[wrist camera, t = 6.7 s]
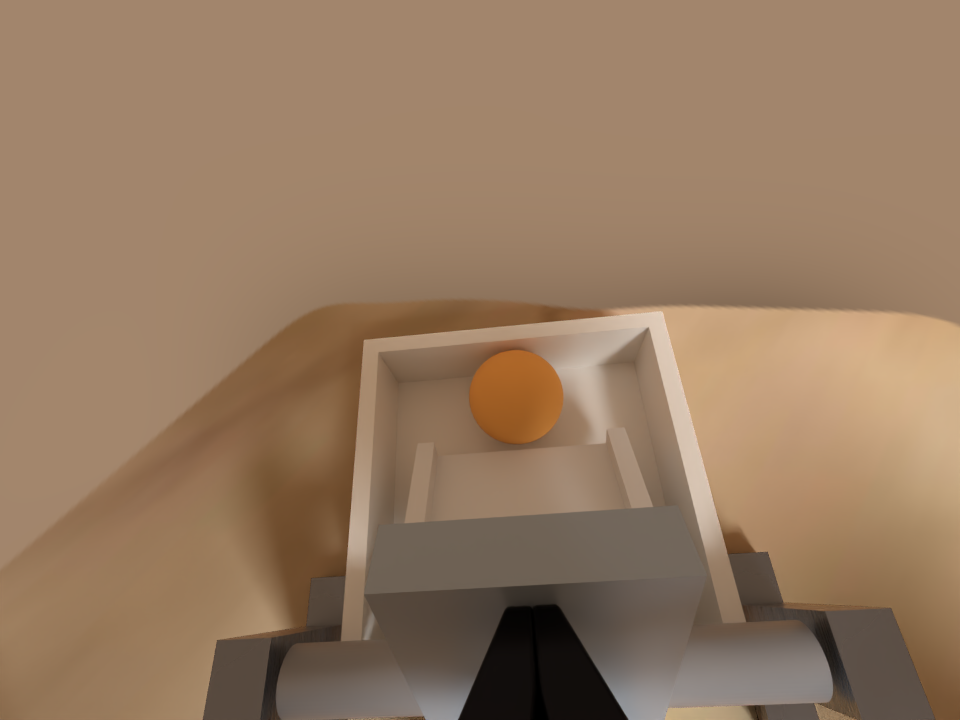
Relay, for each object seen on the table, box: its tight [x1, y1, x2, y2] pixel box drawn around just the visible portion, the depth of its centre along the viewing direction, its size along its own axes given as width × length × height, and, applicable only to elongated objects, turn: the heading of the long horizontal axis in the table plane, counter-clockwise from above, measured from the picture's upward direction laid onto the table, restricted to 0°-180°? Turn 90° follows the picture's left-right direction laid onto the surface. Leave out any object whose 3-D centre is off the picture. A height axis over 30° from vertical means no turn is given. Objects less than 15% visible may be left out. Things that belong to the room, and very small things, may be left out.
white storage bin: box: [341, 311, 746, 641], centre depth 16 cm, size 11×11×4 cm
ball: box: [469, 350, 563, 444], centre depth 17 cm, size 4×4×4 cm
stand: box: [203, 552, 935, 720], centre depth 13 cm, size 5×16×6 cm, turn 93°
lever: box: [276, 427, 833, 720], centre depth 11 cm, size 14×12×10 cm
